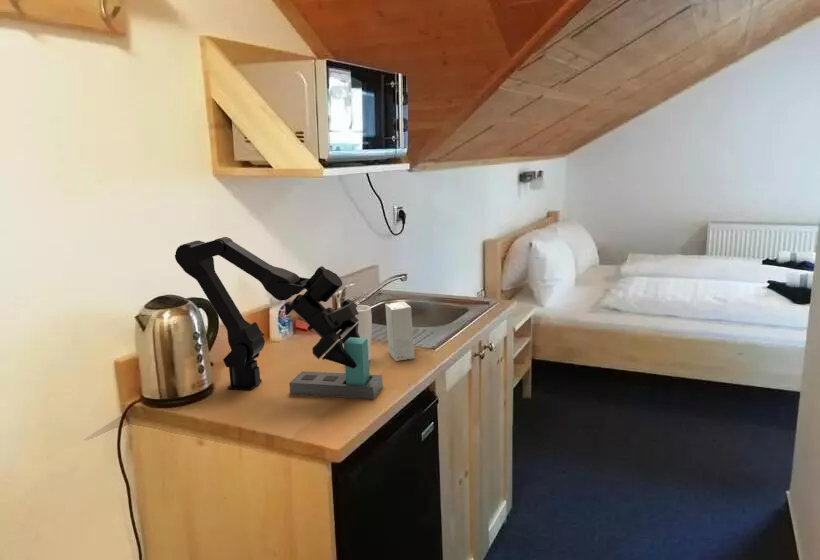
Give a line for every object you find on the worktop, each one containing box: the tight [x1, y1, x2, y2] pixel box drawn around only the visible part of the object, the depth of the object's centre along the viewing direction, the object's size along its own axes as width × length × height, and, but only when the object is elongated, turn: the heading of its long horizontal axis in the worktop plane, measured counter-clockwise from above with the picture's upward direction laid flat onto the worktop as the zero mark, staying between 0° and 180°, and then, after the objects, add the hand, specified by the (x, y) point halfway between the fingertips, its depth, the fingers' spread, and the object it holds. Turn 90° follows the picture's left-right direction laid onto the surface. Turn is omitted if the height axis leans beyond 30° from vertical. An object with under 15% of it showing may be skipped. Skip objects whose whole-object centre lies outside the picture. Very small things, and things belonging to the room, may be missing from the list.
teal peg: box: [343, 337, 370, 385], centre depth 153 cm, size 4×4×13 cm
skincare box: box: [384, 301, 416, 362], centre depth 178 cm, size 8×6×15 cm
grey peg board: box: [289, 370, 384, 400], centre depth 156 cm, size 21×8×3 cm, turn 77°
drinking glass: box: [354, 304, 373, 361], centre depth 175 cm, size 7×7×15 cm
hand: (361, 360), depth 153 cm, fingers open, 9 cm apart
